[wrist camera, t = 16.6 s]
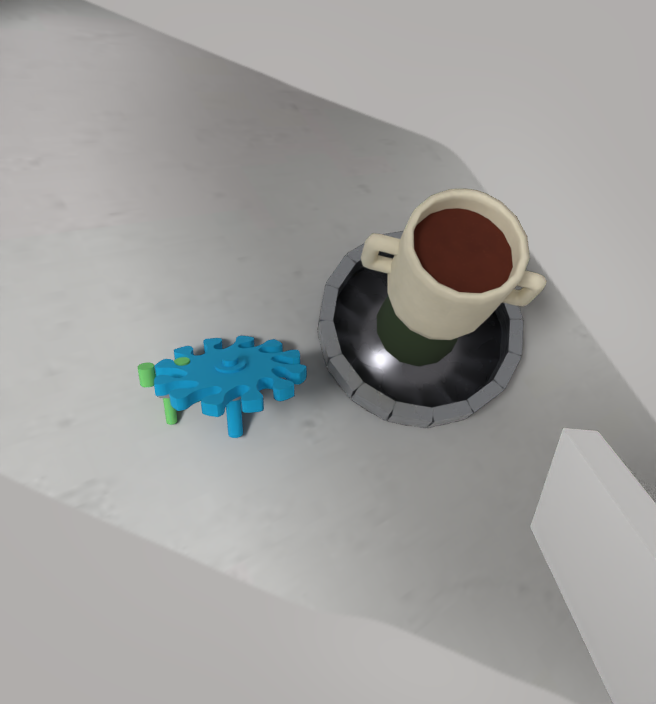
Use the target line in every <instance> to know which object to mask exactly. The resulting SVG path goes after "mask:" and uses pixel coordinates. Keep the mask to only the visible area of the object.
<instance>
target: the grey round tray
mask: <svg viewBox="0 0 656 704" xmlns="http://www.w3.org/2000/svg"><path fill="white" fill-rule="evenodd" d="M402 234H403V231H400V232H394V233H388V234H382V235H386V236H390V237H394V238H398V239H401V236H402ZM364 244H365V243H364ZM364 244H362V245H360V246H359V247H357V248H355V249H354V250H352V251H351V252H349V253H347V256H346V255H345V256H344V258H343V259H342V261H341V262H340V264H339V265H338V267H337V268H336V269H335V271H334V272H333V274H332V275H331V277H330V278H329V279H328V281H327V282H326V285H325V289H324V295H323V301H322V306H321V312H320V318H319V323H318V329H317V330H318V335H319V339H320V343H321V349H322V352H323V355H324V359H325V363H326V366H328V367H327V369H328V370H329V371H330V373H331V374H332V375H333V377H334V378H335V380H336V382H337V383H338V384H339V386H340V387H341V388H342V389H343V390H344V392H345V393H346V394H347V395H348V397H349V398H352V401H354V402H355V403H357V404H359V405H360V406H361V407H363V408H364V409H366V410H367V411H369V412H371V413H373V414H374V415H376V416H378V417H380V418H382V419H383V420H387V421H388V422H394V423H398V424H402V425H408V426H417V427H423V428H426V427H427V428H429V427H434V426H438V425H444V424H448V423H451V422H456V421H460V420H464V419H465V418H467V417H469V416H470V415H472V414H473V413H474V412H476V411H477V410H478V409H480V408H481V407H482V406H484V405H485V404H486V403H488V402H489V401H490V400H491V399H493V398H494V397H495V396H497V395H498V394H499V393H501V392H502V391H503V390H504V389H505V388H506V386H507V384H508V382H509V380H510V378H511V376H512V374H513V372H514V370H515V369H516V367H517V365H518V363H519V361H520V359H521V357H520V356H521V355H522V340H523V320H521V319H522V318H523V317H522V314H521V312H520V309H519V306H515V305H511V304H507V303H503V302H502V303H501V304H500V305H499V306H498V307H497V309H496V310H495V311H494V312H493V313H492V314H491V315H490V316H489V318H487V319H486V320H485V321H484V322H483V323H482V324H481V325H480V326H479V327H478V328H477V329H476V330H475V331H473V332H471V333H469V334H466V335H463V336H460V337H459V338H458V340H457V342H456V344H455V346H454V348H453V350H452V351H451V352H450V353H449V354H448V355H446V356H445V357H444V358H443V359H441V360H440V361H439V362H437V363H434V364H429V365H424V366H420V367H418V366H414V365H410V364H406V363H402V362H399V361H398V360H397V359H396V358H395V357H393V356H392V355H391V354H390V353H389V352H387V351H386V350H385V348H384V346H383V344H382V342H381V340H380V338H379V336H378V334H377V314H378V312H379V310H380V308H381V306H382V304H383V302H384V300H385V299H386V297H387V296H388V273H384V272H380V271H376V270H372V269H368V268H366V267H364V266H363V264H362V261H361V255H362V251H363V248H364ZM378 255H380V256H384V257H388V258H392V259H393V257H394V255H393V254H389V253H385V252H381V251H379V253H378Z"/></svg>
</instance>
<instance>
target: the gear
mask: <svg viewBox="0 0 656 704" xmlns="http://www.w3.org/2000/svg"><path fill="white" fill-rule="evenodd" d="M204 351H205V354H203V355H194V354H193V348H192V347H191V346H184V347H180V348H177V349H175V350H174V356H175V360H174V361H173V360H171V359H164V360H162V361H160V362H158V363H157V364H156V365H155V368H154V364H153V363H142V364H140V365H139V366H138V373H139V379H140V385H141V386H142V387H152V386H154V387H155V394H156V396H157V397H160V398H163V400H164V408H165V415H166V422H167V424H170V425H172V424H175V423H177V414H176V410H177V411H181V410H185V409H187V408H189V407H190V406H191V405H193V404H194V403H197V402H199V401H201V406H202V413H203V414H205V415H208V416H214V417H219V416H221V415H223V414H224V412H225V407H226V412H227V424H228V435H229V436H230V437H232V438H238V437H240V436H242V435H243V424H242V411H243V412H246V413H252V412H260V411H263V409H264V405H263V395H262V394H261V393H260V392H259V391H260V390H262V389H272V390H273V396H274V399H275V400H277V401H284V400H287V399H289V398H291V397H293V396H294V384H297V385H298V384H301V383H303V382H304V381H305V379H306V377H307V369H306V366H305V365H301V364H300V352H299V351H298V350H288V351H285V352H283V347H282V343H281V342H279V341H277V340H275V339H272V340H268V341H266V342H265V343H263V344H261V345H259V346H256V347H254V338H253V337H249V336H238V337H237V338H236V341H235V343H234V344H233V345H231V346H229V347H227V348H225V349H223V348H222V339H221V338H210V339H205V340H204ZM155 373H156V375H155ZM279 377H283V378H286V379H287V380H285V379H281V378H279ZM241 404H242V410H241Z"/></svg>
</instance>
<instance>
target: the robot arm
mask: <svg viewBox="0 0 656 704" xmlns="http://www.w3.org/2000/svg"><path fill="white" fill-rule="evenodd" d="M530 528H531V530H532V532H533V534H534V536H535V538H536V541H537V543H538V545H539V547H540V549H541V551H542V553H543V556H544V558H545V560H546V562H547V564H548V566H549V568H550V570H551V573H552V575H553V577H554V579H555V581H556V583H557V585H558V587H559V590H560V592H561V594H562V596H563V598H564V600H565V602H566V605H567V607H568V609H569V611H570V613H571V615H572V617H573V619H574V622H575V624H576V626H577V628H578V630H579V632H580V634H581V636H582V639H583V641H584V643H585V645H586V647H587V649H588V651H589V654H590V656H591V658H592V660H593V662H594V664H595V666H596V668H597V671H598V673H599V675H600V677H601V679H602V681H603V683H604V686H605V688H606V690H607V692H608V694H609V696H610V698H611V700H612V703H613V704H656V503H655V502H654V501H653V499H652V498H651V497H650V496H649V494H648V493H647V492H646V491H645V489H644V488H643V487H642V486H641V484H640V483H639V482H638V481H637V479H636V478H635V477H634V476H633V474H632V473H631V472H630V471H629V469H628V468H627V467H626V465H625V464H624V463H623V462H622V460H621V459H620V458H619V457H618V455H617V454H616V453H615V452H614V450H613V449H612V448H611V447H610V445H609V444H608V443H607V442H606V440H605V439H604V438H603V437H602V435H601V434H600V433H599V432H598V431H594V430H582V429H571V428H563V430H562V433H561V436H560V439H559V442H558V445H557V448H556V451H555V454H554V457H553V460H552V463H551V466H550V469H549V472H548V475H547V478H546V481H545V484H544V487H543V490H542V493H541V496H540V499H539V502H538V505H537V508H536V511H535V514H534V517H533V520H532V523H531V526H530Z"/></svg>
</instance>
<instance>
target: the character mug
mask: <svg viewBox="0 0 656 704" xmlns="http://www.w3.org/2000/svg"><path fill="white" fill-rule="evenodd" d="M379 251H381V252H385V253H389V254H393V255H394V257H393V259H392V258H388V257H384V256H380V255H378V253H379ZM529 259H530V256H529V248H528V240H527V235H526V233H525V231H524V230H523V228H522V226H521V224H520V222H519V220H518V218H517V216H516V215H514V214H513V213H512V212H511V211H510V210H509V209H508V208H507V207H506V206H505V205H504V204H503V203H502V202H501V201H499V200H497V199H496V198H494V197H492V196H490V195H488V194H486V193H483V192H480V191H478V190H472V189H449V190H446V191H443V192H440V193H437V194H434V195H431V196H430V197H429V198H428V199H426V200H425V201H424V202H423V203H422V204H420V205H419V206H418V207H417V208H415V210H414V211H413V213H412V215H411V217H410V219H409V221H408V223H407V225H406V227H405V229H404V231H403V234H402V236H401V239H398V238H394V237H390V236H386V235H382V234H374V233H372V234H371V235H370V236H369V237H368V238H367V239H366V240H365V244H364V248H363V251H362V255H361V261H362V264H363V266H364V267H366V268H368V269H372V270H376V271H380V272H384V273H388V296H387V297H386V299H385V300H384V302H383V304H382V306H381V308H380V310H379V312H378V314H377V334H378V336H379V338H380V340H381V342H382V344H383V346H384V348H385V350H386V351H387V352H389V353H390V354H391V355H392V356H393V357H395V358H396V359H397V360H398V361H399V362H402V363H406V364H410V365H414V366H418V367H420V366H424V365H429V364H434V363H437V362H439V361H440V360H441V359H443V358H444V357H445V356H446V355H448V354H449V353H450V352H451V351H452V350H453V348H454V346H455V344H456V342H457V340H458V338H459V337H460V336H463V335H466V334H469V333H471V332H473V331H475V330H476V329H477V328H478V327H479V326H480V325H481V324H482V323H483V322H484V321H485V320H486V319H487V318H489V316H490V315H491V314H492V313H493V312H494V311H495V310H496V309H497V307H498V306H499V305H500V304H501V303H502V302H503V303H507V304H511V305H515V306H526V305H528V304H529V303H530V302H531V301H532V300H533V299H534V298H535V297H536V296H537V295H538V294H539V293H540V292H541V291H542V290H543V289H544V287H545V286H546V282H547V281H546V279H545V277H544V276H542V275H540V274H538V273H534V272H530V271H526V267H527V264H528V262H529ZM516 286H521V287H523V288H522V289H521V290H515V289H514V288H515V287H516Z"/></svg>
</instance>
